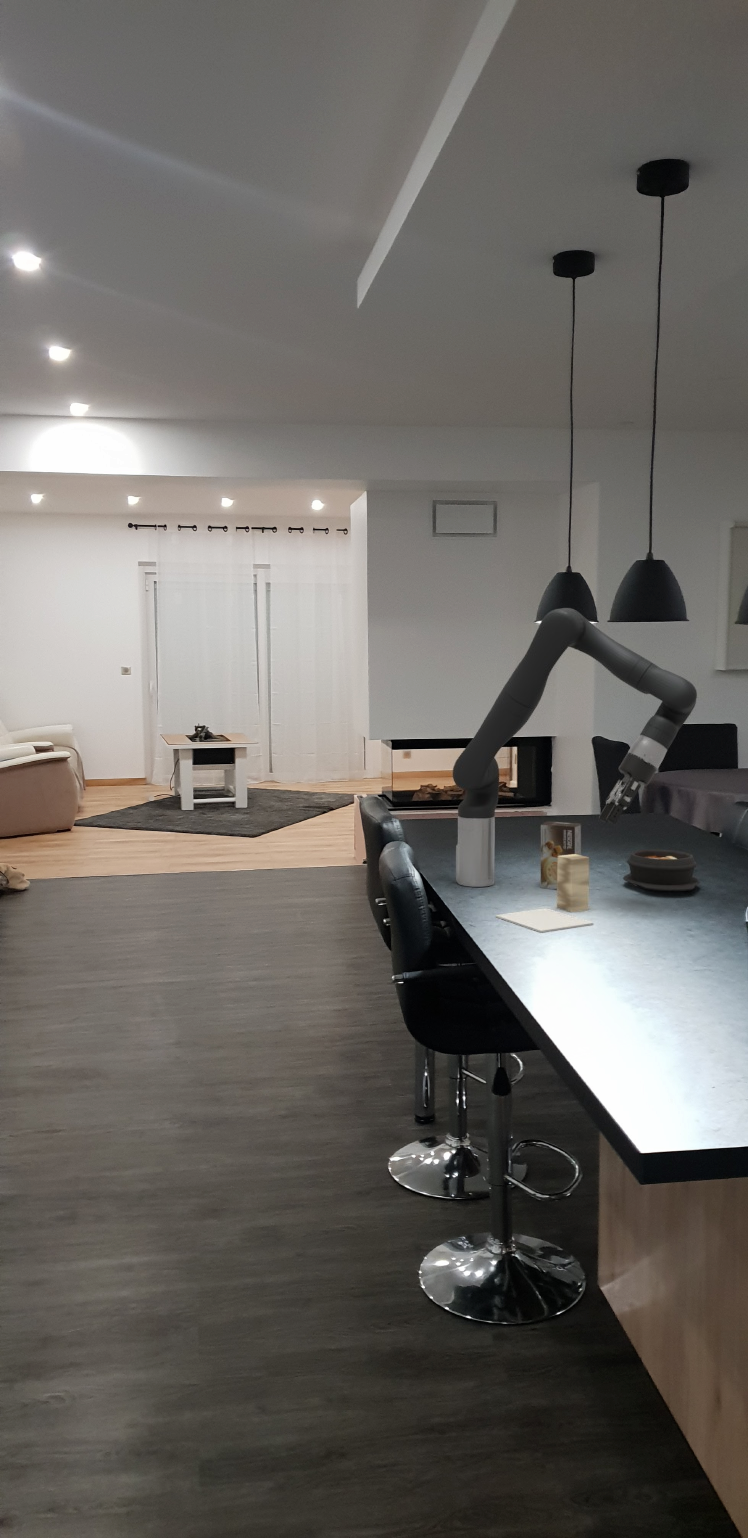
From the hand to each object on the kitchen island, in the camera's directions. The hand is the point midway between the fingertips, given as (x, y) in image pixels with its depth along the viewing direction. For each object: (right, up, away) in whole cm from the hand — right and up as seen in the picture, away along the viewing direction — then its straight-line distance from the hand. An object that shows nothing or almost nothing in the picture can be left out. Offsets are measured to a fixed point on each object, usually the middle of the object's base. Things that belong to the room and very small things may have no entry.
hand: (606, 821), depth 240 cm
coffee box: (-6, -18, +25) cm, 31 cm away
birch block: (-7, -20, +1) cm, 21 cm away
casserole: (+19, -18, +25) cm, 36 cm away
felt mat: (-16, -21, -10) cm, 28 cm away
